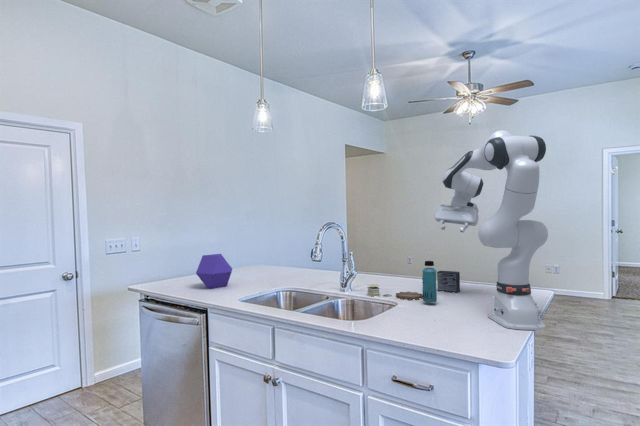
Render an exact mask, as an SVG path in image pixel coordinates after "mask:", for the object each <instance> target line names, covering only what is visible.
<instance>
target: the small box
mask: <svg viewBox="0 0 640 426" xmlns="http://www.w3.org/2000/svg"><path fill="white" fill-rule="evenodd" d="M460 273H461V272H460V271H455V270H454V271H453V270H452V271H451V270H438V271H436V285H437V289H436V291H437V292H440V291H444V292H443V293H452V292H455V293H454V294H458V293H460V292H461V285H460V284H461V282H460V279H461V276H460Z"/></svg>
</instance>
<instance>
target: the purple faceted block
mask: <svg viewBox="0 0 640 426" xmlns="http://www.w3.org/2000/svg"><path fill="white" fill-rule="evenodd" d="M196 269H197V270H196V272H195V273H196V275H197V277H198V278H199V279H200V281H201V282H202V283H203V285H205V287H206V289H208V290H211V289H212V290H213V289H219V288H224V287H228V283H229V281H230V279H231V275H232V271H233V268H232V266H231V265H230V264H229V262H228V261H227V259H226V258H225V257H224V256H223V254H222V253H215V254H204V255H203V254H202V256H201V259H200V262H199V264H198V267H197V268H196Z"/></svg>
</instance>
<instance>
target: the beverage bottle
mask: <svg viewBox="0 0 640 426" xmlns="http://www.w3.org/2000/svg"><path fill="white" fill-rule="evenodd" d="M424 266H425V267H424V269H422V278H421V279H422V288H421V290H422V293H421V294H422V295H423V298H422V301H423V302H425V303H437V301H438V297H437V294H438V293H437V292H438V291H437V290H438V287H437V270H436V269H435V268H433V267H434V266H435V264H434V261H433V260H425V261H424Z"/></svg>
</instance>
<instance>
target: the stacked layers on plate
mask: <svg viewBox="0 0 640 426" xmlns="http://www.w3.org/2000/svg"><path fill="white" fill-rule="evenodd" d="M366 288H367V295H371V296H370V297H372V296H373V297H372V298H375V297H374V296H378V297H380V294H381V293H380V290H381V288H380V285H379V284H377V283H371V284H367V287H366Z"/></svg>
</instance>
